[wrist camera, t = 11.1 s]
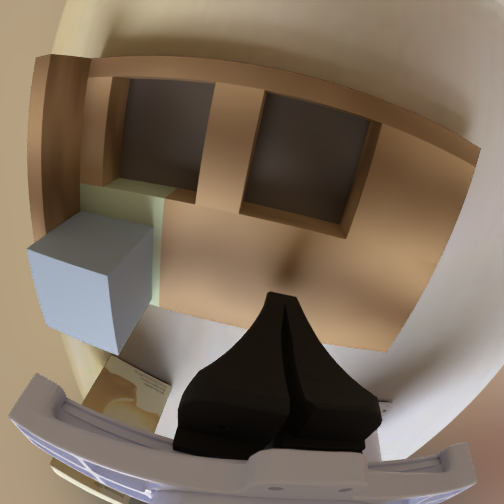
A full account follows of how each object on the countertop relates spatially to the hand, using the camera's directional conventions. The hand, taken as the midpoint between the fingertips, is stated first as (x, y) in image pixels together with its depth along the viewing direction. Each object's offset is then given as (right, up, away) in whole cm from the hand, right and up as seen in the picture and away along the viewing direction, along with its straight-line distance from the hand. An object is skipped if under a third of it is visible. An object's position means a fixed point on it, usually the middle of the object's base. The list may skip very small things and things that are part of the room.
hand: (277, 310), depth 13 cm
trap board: (-1, +5, +1) cm, 5 cm away
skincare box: (-12, -9, +10) cm, 18 cm away
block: (-9, +2, +1) cm, 9 cm away
